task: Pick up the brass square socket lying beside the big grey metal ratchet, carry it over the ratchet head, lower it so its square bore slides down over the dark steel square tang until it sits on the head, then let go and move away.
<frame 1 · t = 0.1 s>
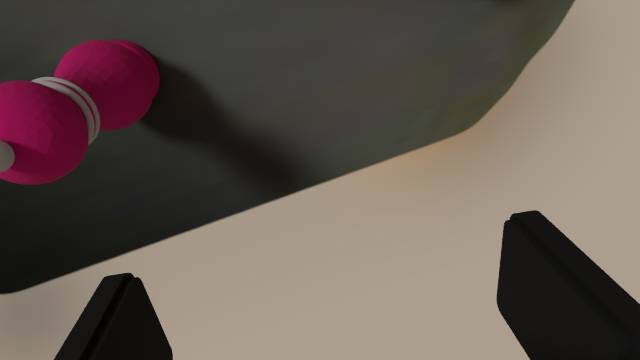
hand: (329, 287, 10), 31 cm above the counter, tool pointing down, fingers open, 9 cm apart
pepper mill: (126, 73, 38), on the counter
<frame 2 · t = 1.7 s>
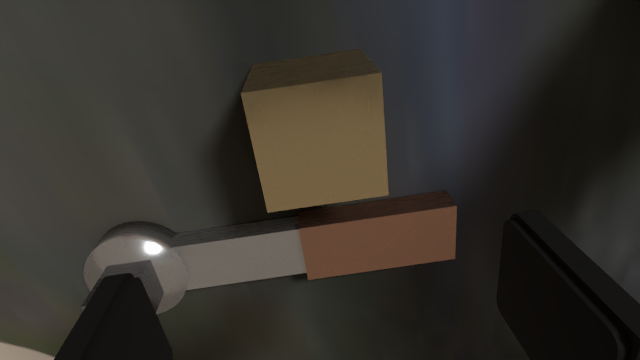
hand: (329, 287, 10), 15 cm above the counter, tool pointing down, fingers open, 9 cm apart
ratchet: (260, 243, 28), on the counter
socket: (313, 108, 24), on the counter
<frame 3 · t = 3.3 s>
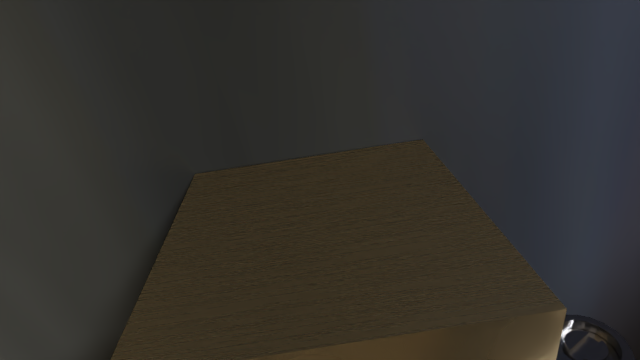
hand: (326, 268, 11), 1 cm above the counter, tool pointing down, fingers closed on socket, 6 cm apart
socket: (323, 248, 12), on the counter, touching gripper
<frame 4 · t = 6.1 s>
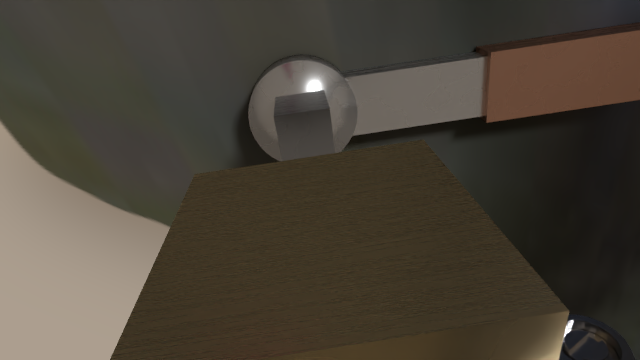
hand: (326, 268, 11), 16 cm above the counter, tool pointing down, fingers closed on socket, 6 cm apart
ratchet: (427, 88, 25), on the counter
socket: (323, 249, 12), point 15 cm above the counter, touching gripper
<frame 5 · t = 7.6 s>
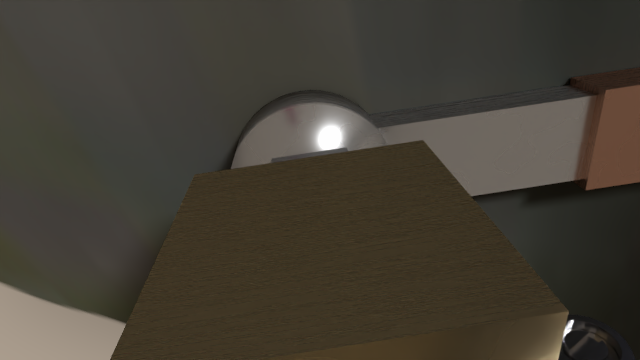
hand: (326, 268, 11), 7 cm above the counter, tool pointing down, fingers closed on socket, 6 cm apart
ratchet: (494, 136, 17), on the counter
socket: (323, 249, 12), point 6 cm above the counter, touching gripper
when the fingers open (3 cm above the counter, at t = 8.9 s): socket stays where it is, resting on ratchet.
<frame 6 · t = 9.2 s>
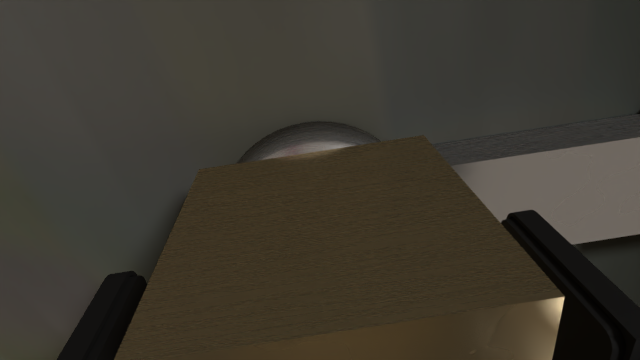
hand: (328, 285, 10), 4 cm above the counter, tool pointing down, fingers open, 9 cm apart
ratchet: (546, 175, 14), on the counter
socket: (325, 243, 12), point 2 cm above the counter, touching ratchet
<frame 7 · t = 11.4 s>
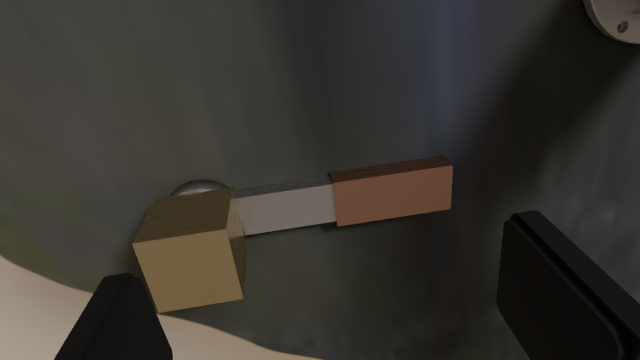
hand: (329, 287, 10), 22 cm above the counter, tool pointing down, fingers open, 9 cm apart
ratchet: (297, 199, 35), on the counter
socket: (203, 225, 32), point 2 cm above the counter, touching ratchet
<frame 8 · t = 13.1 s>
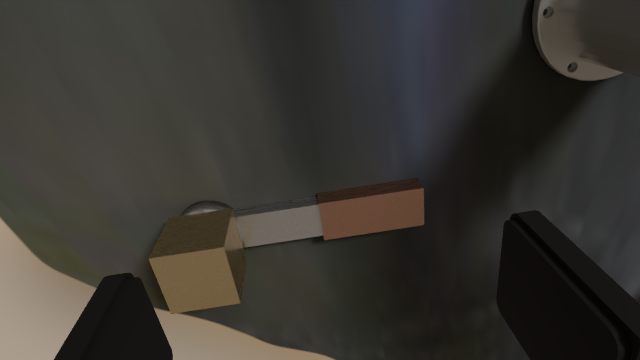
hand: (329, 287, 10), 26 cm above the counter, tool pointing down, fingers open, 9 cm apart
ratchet: (290, 216, 40), on the counter
socket: (208, 239, 38), point 2 cm above the counter, touching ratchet
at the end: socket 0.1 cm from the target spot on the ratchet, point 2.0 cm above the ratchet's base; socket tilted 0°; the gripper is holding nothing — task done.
